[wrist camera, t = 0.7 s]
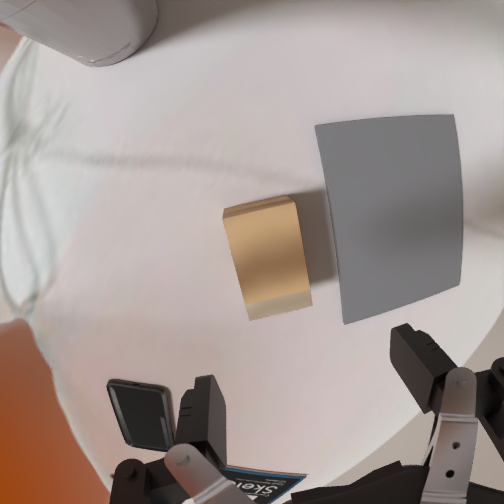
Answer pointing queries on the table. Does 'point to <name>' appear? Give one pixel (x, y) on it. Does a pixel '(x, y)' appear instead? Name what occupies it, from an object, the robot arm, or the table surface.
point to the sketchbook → (259, 483)
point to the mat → (393, 209)
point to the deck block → (268, 256)
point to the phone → (142, 414)
